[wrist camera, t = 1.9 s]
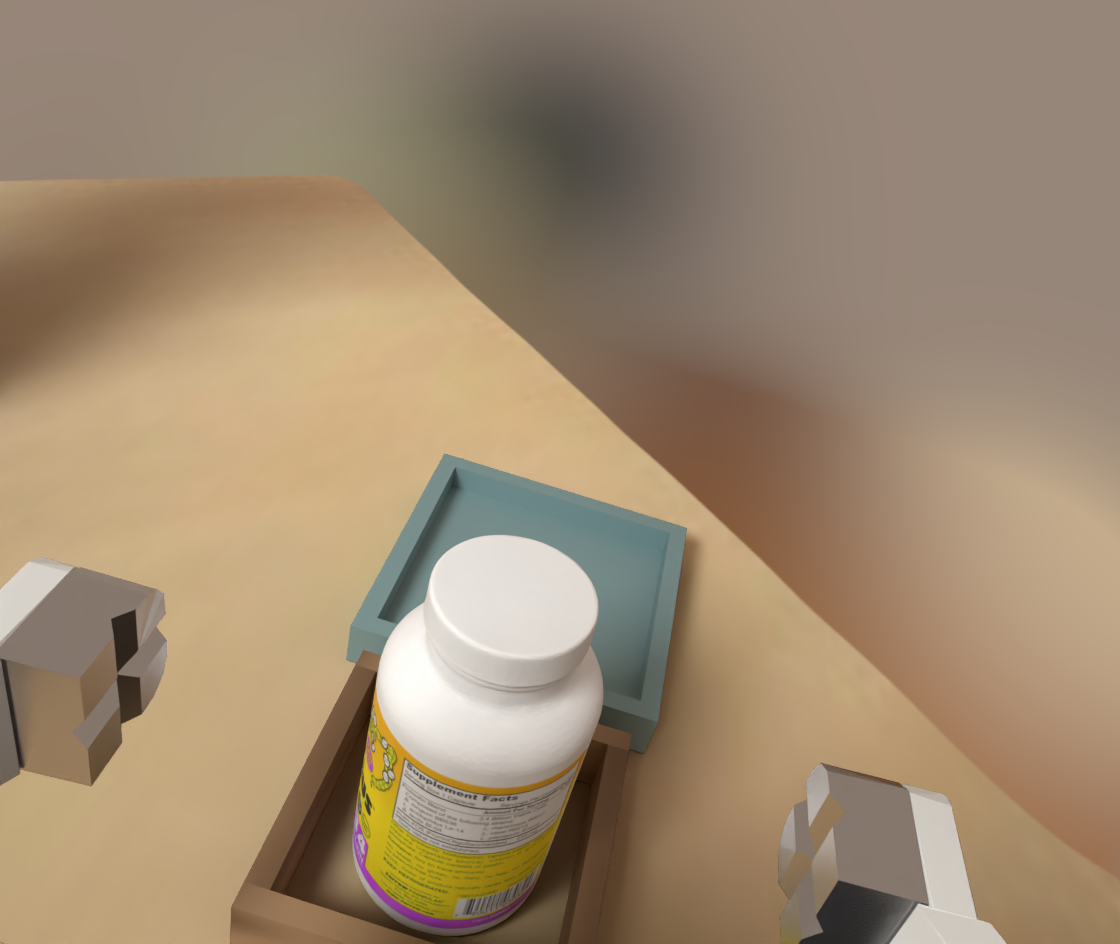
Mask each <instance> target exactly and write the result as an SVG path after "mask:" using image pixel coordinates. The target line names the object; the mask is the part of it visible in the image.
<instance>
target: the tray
mask: <svg viewBox="0 0 1120 944" xmlns="http://www.w3.org/2000/svg"><path fill="white" fill-rule="evenodd" d="M686 531H687V528H685V527H682V526H679V525H676V524H672V523H669V522H666V521H663V520H659V519H656V518H653V517H650V516H646V515H643V514H640V513H637V512H633V511H630V510H627V509H624V508H620V507H617V506H614V505H611V504H607V503H604V502H601V501H597V500H594V499H591V498H588V497H584V496H581V495H578V494H575V493H571V492H568V491H565V490H562V489H558V488H555V487H552V486H549V485H545V484H542V483H539V482H536V481H532V480H529V479H526V478H523V477H519V476H516V475H513V474H510V473H506V472H503V471H500V470H497V469H493V468H490V467H487V466H484V465H480V464H477V463H474V462H471V461H467V460H464V459H461V458H458V457H454V456H451V455H448V454H444V455H443V457H442V459H441V461H440V463H439V465H438V466H437V468H436V470H435V472H434V474H433V476H432V477H431V479H430V481H429V483H428V485H427V487H426V488H425V490H424V492H423V494H422V496H421V498H420V500H419V501H418V503H417V505H416V507H415V509H414V511H413V512H412V514H411V516H410V518H409V520H408V522H407V523H406V525H405V527H404V529H403V531H402V533H401V534H400V536H399V538H398V540H397V542H396V544H395V545H394V547H393V549H392V551H391V553H390V555H389V556H388V558H387V560H386V562H385V564H384V566H383V567H382V569H381V571H380V573H379V575H378V577H377V578H376V580H375V582H374V584H373V586H372V588H371V590H370V591H369V593H368V595H367V597H366V599H365V601H364V602H363V604H362V606H361V608H360V610H359V612H358V613H357V615H356V617H355V619H354V621H353V623H352V624H351V628H350V635H349V643H348V650H347V657H346V660H349V661H352V662H355V663H357V661H358V659H359V657H360V655H361V653H362V651H363V650H366V651H369V652H372V653H375V654H379V655H382V653H383V650H384V647H385V645H386V642H387V640H388V639H389V637H390V635H391V633H392V632H393V630H394V629H395V628H396V626H397V625H398V624H399V623H400V621H401V620H402V619H403V618H404V617H405V616H406V615H407V614H409V613H410V612H411V611H412V610H413V609H415V608H416V607H418V606H419V605H421V604H422V603H424V602H425V599H426V595H427V590H428V585H429V581H430V577H431V573H432V571H433V569H434V567H435V565H436V563H437V562H438V560H439V559H440V558H441V557H442V556H443V555H444V554H445V553H446V552H447V551H448V550H450V549H451V548H453V547H454V546H456V545H458V544H460V543H462V542H464V541H467V540H469V539H473V538H476V537H481V536H488V535H509V536H518V537H524V538H528V539H532V540H536V541H539V542H542V543H544V544H547V545H549V546H551V547H553V548H555V549H557V550H559V551H561V552H562V553H564V554H565V555H567V556H568V557H569V558H571V559H572V560H573V561H575V562H576V563H577V564H578V565H579V566H580V567H581V569H582V570H583V571H584V572H585V573H586V574H587V576H588V577H589V579H590V580H591V582H592V584H593V586H594V588H595V590H596V594H597V598H598V604H599V613H598V619H597V623H596V627H595V630H594V633H593V637H592V640H591V644H590V646H591V647H592V649H593V651H594V653H595V655H596V658H597V660H598V663H599V666H600V670H601V674H602V679H603V705H602V711H601V715H600V718H599V721H598V724H601V725H604V726H607V727H610V728H614V729H617V730H620V731H623V732H626V733H630V734H632V736H631V741H630V747H629V749H631V750H635V751H638V752H641V753H644V752H645V750H646V748H647V746H648V743H649V741H650V739H651V737H652V734H653V732H654V730H655V728H656V725H657V723H658V718H659V711H660V705H661V698H662V691H663V685H664V678H665V671H666V665H667V658H668V651H669V645H670V638H671V631H672V625H673V618H674V611H675V605H676V598H677V591H678V585H679V578H680V571H681V565H682V558H683V551H684V545H685V538H686Z"/></svg>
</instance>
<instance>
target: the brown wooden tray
mask: <svg viewBox="0 0 1120 944" xmlns="http://www.w3.org/2000/svg"><path fill="white" fill-rule="evenodd" d="M381 656H382V655H379V654H375V653H372V652H369V651H366V650H363V651H362V653H361V655H360V657H359V659H358V661H357V663H356V665H355V667H354V669H353V671H352V673H351V675H350V677H349V679H348V681H347V683H346V685H345V686H344V688H343V690H342V692H341V694H340V696H339V698H338V700H337V702H336V704H335V706H334V708H333V710H332V712H331V714H330V716H329V718H328V720H327V721H326V723H325V725H324V727H323V729H322V731H321V733H320V735H319V737H318V739H317V741H316V743H315V745H314V747H313V749H312V751H311V753H310V755H309V757H308V758H307V760H306V762H305V764H304V766H303V768H302V770H301V772H300V774H299V776H298V778H297V780H296V782H295V784H294V786H293V788H292V790H291V792H290V793H289V795H288V797H287V799H286V801H285V803H284V805H283V807H282V809H281V811H280V813H279V815H278V817H277V819H276V821H275V823H274V825H273V827H272V829H271V830H270V832H269V834H268V836H267V838H266V840H265V842H264V844H263V846H262V848H261V850H260V852H259V854H258V856H257V858H256V860H255V862H254V864H253V865H252V867H251V869H250V871H249V873H248V875H247V877H246V879H245V881H244V883H243V885H242V887H241V889H240V891H239V893H238V895H237V897H236V899H235V901H234V902H233V904H232V906H231V929H230V944H435V943H432V942H428V941H425V940H422V939H419V938H416V937H413V936H410V935H407V934H404V933H401V932H398V931H394V930H391V929H388V928H385V927H382V926H379V925H376V924H373V923H370V922H367V921H364V920H361V919H357V918H354V917H351V916H348V915H345V914H342V913H339V912H336V911H333V910H330V909H327V908H323V907H320V906H317V905H314V904H311V903H308V902H305V901H302V900H299V899H296V898H293V897H290V896H286V895H284V893H285V891H286V889H287V887H288V885H289V883H290V881H291V879H292V876H293V874H294V872H295V870H296V868H297V866H298V864H299V862H300V859H301V857H302V855H303V853H304V851H305V849H306V847H307V845H308V842H309V840H310V838H311V836H312V834H313V832H314V830H315V828H316V825H317V823H318V821H319V819H320V817H321V815H322V813H323V811H324V808H325V806H326V804H327V802H328V800H329V798H330V796H331V794H332V791H333V789H334V787H335V785H336V783H337V781H338V779H339V777H340V774H341V772H342V770H343V768H344V766H345V764H346V762H347V760H348V758H349V755H350V753H351V751H352V749H353V747H354V745H355V743H356V741H357V738H358V736H359V734H360V732H361V730H362V728H363V726H364V724H365V721H366V719H367V717H368V715H369V714H371V711H372V705H373V699H374V692H375V686H376V680H377V674H378V668H379V663H380V659H381ZM631 736H632V734H630V733H626V732H623V731H620V730H617V729H614V728H610V727H607V726H604V725H601V724H597V727H596V729H595V732H594V734H593V737H592V739H591V742H590V745H589V747H588V750H587V752H586V755H585V757H584V760H583V762H582V765H581V768H580V770H579V773H578V776H577V778H576V780H579V781H582V782H585V783H589V784H592V786H591V791H590V795H589V800H588V805H587V810H586V815H585V819H584V824H583V829H582V834H581V839H580V844H579V848H578V853H577V858H576V863H575V868H574V872H573V877H572V882H571V887H570V892H569V896H568V901H567V906H566V911H565V916H564V920H563V925H562V930H561V935H560V940H559V944H595V940H596V934H597V929H598V923H599V917H600V912H601V906H602V900H603V895H604V889H605V883H606V878H607V872H608V866H609V861H610V855H611V849H612V844H613V838H614V832H615V827H616V821H617V815H618V809H619V804H620V798H621V792H622V787H623V781H624V775H625V770H626V764H627V758H628V753H629V747H630V741H631Z"/></svg>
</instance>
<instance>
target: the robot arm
mask: <svg viewBox="0 0 1120 944" xmlns="http://www.w3.org/2000/svg"><path fill="white" fill-rule="evenodd" d="M165 614H166V612H165V601H164V593H162V592H160V591H159V590H157V589H154V588H150V587H147V586H143V585H140V584H137V583H133V582H130V581H126V580H123V579H119V578H116V577H112V576H109V575H106V574H102V573H99V572H95V571H92V570H88V569H85V568H81V567H80V568H79V567H75V566H72V565H68V564H65V563H62V562H58V561H55V560H51V559H48V558H44V557H39V558H37V559H34V560H32V561H30V562H28V563H26V564H25V565H24V566H23V567H22V568H21V569H20V570H19V571H18V572H17V573H16V574H15V575H14V576H13V577H12V578H11V579H10V580H9V581H8V582H7V583H6V584H5V585H4V586H3V587H2V588H1V589H0V786H1V785H2V784H4V783H6V782H7V781H9V780H11V779H12V778H14V777H16V776H17V775H19V774H20V770H25V771H29V772H33V773H37V774H42V775H46V776H50V777H54V778H58V779H63V780H67V781H71V782H75V783H79V784H84V785H88V786H92V785H93V783H94V782H95V780H96V779H97V778H98V776H99V775H100V773H101V772H102V770H103V769H104V768H105V766H106V765H107V763H108V762H109V761H110V759H111V758H112V756H113V755H114V753H115V752H116V751H117V749H118V748H119V746H120V745H121V743H122V733H121V724H123V723H125V722H127V721H129V720H131V719H133V718H135V717H137V716H139V715H141V714H142V713H143V712H144V710H145V709H146V707H147V706H148V704H149V703H150V701H151V700H152V698H153V697H154V695H155V692H156V690H157V688H158V685H159V683H160V680H161V678H162V676H163V673H164V668H165V663H166V657H167V640H166V639H165V638H164V636H163V635H162V634H161V632H160V631H159V630H158V628H157V627H156V626H157V625H158V623H159V622H160V621H161V619H162V618H163V617H164V615H165ZM806 788H807V800H805V801H803V802H801V803H799V804H796V805H794V806H793V808H792V810H791V812H790V814H789V816H788V818H787V820H786V823H785V825H784V829H783V833H782V837H781V841H780V845H779V856H778V883H779V885H780V886H781V888H782V889H783V891H784V893H785V894H786V896H787V897H788V899H789V902H788V904H787V905H786V907H785V909H784V911H783V913H782V914H781V916H780V936H781V944H1007V943H1006V942H1005V941H1004V939H1003V938H1002V937H1001V936H1000V934H999V933H998V932H997V931H996V929H995V928H994V927H993V926H992V924H991V923H988V922H985V921H981V920H978V918H977V913H976V909H975V905H974V900H973V896H972V892H971V888H970V883H969V879H968V875H967V870H966V866H965V862H964V858H963V853H962V849H961V845H960V840H959V836H958V832H957V828H956V823H955V819H954V815H953V810H952V806H951V802H950V801H949V800H948V798H947V797H946V796H945V795H944V794H941V793H937V792H933V791H929V790H925V789H921V788H917V787H913V786H909V785H905V784H900V783H898V782H894V781H890V780H886V779H882V778H878V777H874V776H870V775H866V774H862V773H858V772H854V771H850V770H846V769H842V768H838V767H834V766H831V765H827V764H823V763H820V764H819V765H818V766H817V767H815V768H814V769H813V771H812V773H811V775H810V776H809V778H808V780H807V782H806ZM0 944H6V943H2V942H0Z"/></svg>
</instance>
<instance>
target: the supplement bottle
mask: <svg viewBox="0 0 1120 944" xmlns="http://www.w3.org/2000/svg"><path fill="white" fill-rule="evenodd" d="M598 613H599V604H598V598H597V594H596V590H595V588H594V586H593V584H592V582H591V580H590V579H589V577H588V576H587V574H586V573H585V572H584V571H583V570H582V569H581V567H580V566H579V565H578V564H577V563H576V562H575V561H573V560H572V559H571V558H569V557H568V556H567V555H565V554H564V553H562V552H561V551H559V550H557V549H555V548H553V547H551V546H549V545H547V544H544V543H542V542H539V541H536V540H532V539H528V538H524V537H518V536H509V535H488V536H481V537H476V538H473V539H469V540H467V541H464V542H462V543H460V544H458V545H456V546H454V547H453V548H451V549H450V550H448V551H447V552H446V553H445V554H444V555H443V556H442V557H441V558H440V559H439V560H438V562H437V563H436V565H435V567H434V569H433V571H432V573H431V577H430V581H429V585H428V590H427V595H426V599H425V602H424V603H422V604H421V605H419V606H418V607H416V608H415V609H413V610H412V611H411V612H410V613H409V614H407V615H406V616H405V617H404V618H403V619H402V620H401V621H400V623H399V624H398V625H397V626H396V628H395V629H394V630H393V632H392V633H391V635H390V637H389V639H388V640H387V642H386V645H385V647H384V650H383V653H382V656H381V659H380V663H379V668H378V674H377V680H376V686H375V692H374V699H373V705H372V711H371V718H370V724H369V730H368V736H367V741H366V747H365V754H364V760H363V766H362V773H361V778H360V785H359V791H358V797H357V803H356V810H355V817H354V825H353V836H352V849H353V857H354V862H355V866H356V870H357V873H358V875H359V878H360V880H361V882H362V884H363V886H364V888H365V890H366V891H367V893H368V894H369V895H370V897H371V898H372V899H373V901H374V902H375V903H376V904H377V905H378V906H379V907H380V908H381V909H382V910H383V911H384V912H385V913H386V914H387V915H388V916H390V917H391V918H393V919H394V920H396V921H397V922H399V923H401V924H402V925H404V926H406V927H409V928H411V929H414V930H417V931H421V932H424V933H428V934H433V935H441V936H461V935H468V934H473V933H477V932H480V931H483V930H486V929H488V928H490V927H493V926H495V925H497V924H498V923H500V922H502V921H503V920H505V919H506V918H508V917H509V916H510V915H511V914H513V913H514V912H515V911H516V910H517V909H518V908H519V907H520V906H521V905H522V904H523V903H524V901H525V900H526V899H527V897H528V896H529V894H530V893H531V892H532V890H533V888H534V886H535V884H536V882H537V880H538V877H539V875H540V872H541V870H542V867H543V865H544V862H545V859H546V857H547V854H548V852H549V849H550V847H551V844H552V841H553V839H554V836H555V833H556V831H557V828H558V825H559V823H560V820H561V818H562V815H563V812H564V810H565V807H566V804H567V802H568V799H569V797H570V794H571V791H572V789H573V786H574V783H575V781H576V778H577V776H578V773H579V770H580V768H581V765H582V762H583V760H584V757H585V755H586V752H587V750H588V747H589V745H590V742H591V739H592V737H593V734H594V732H595V729H596V727H597V724H598V721H599V718H600V715H601V711H602V705H603V679H602V674H601V670H600V666H599V663H598V660H597V658H596V655H595V653H594V651H593V649H592V647H591V646H590V644H591V640H592V637H593V633H594V630H595V627H596V623H597V619H598Z"/></svg>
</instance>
